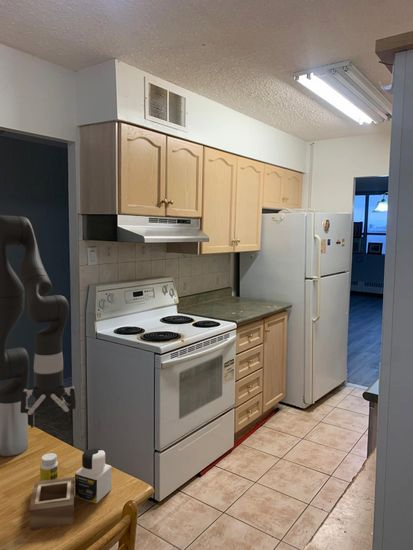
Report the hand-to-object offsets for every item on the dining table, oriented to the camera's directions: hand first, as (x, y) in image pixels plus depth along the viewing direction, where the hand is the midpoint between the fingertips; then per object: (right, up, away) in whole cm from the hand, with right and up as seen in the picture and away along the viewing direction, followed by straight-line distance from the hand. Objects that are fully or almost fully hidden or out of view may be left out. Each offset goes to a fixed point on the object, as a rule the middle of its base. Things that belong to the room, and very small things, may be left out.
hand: (48, 424), depth 119 cm
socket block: (+5, -19, -9) cm, 21 cm away
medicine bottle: (+13, -19, -1) cm, 23 cm away
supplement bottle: (-1, -18, +2) cm, 18 cm away
